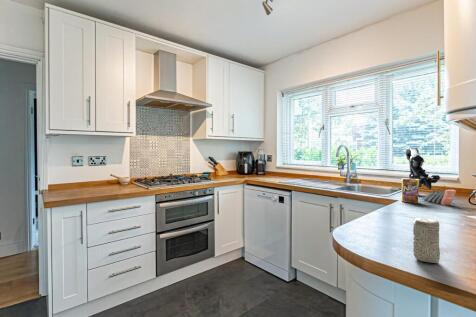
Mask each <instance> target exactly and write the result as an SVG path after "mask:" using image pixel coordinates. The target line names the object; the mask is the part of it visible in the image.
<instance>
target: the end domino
mask: <svg viewBox="0 0 476 317" xmlns="http://www.w3.org/2000/svg"><path fill="white" fill-rule="evenodd" d="M444 190H445V193H444V196H443V198H442V201H441V204H440V205H442V206H451V204H452V203H453V200H454V197H455V195H456V193H457V190H456V189H444Z"/></svg>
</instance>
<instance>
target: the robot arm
mask: <svg viewBox="0 0 476 317" xmlns="http://www.w3.org/2000/svg"><path fill="white" fill-rule="evenodd" d="M405 157H406V159H407V160H408V164H409V174H408V178H407V179H419V188H422V186H424V187H425V188H427V189H429V190H432V184H436V183H437V182H438V181H439V180H440V179H441V177H440V175H437V174H432V175H431V176H430V175H429V174H428V173H427V172H426V171H427V170H426V169H424V168H423V165H424V163H425V160H424V157H422V156H421V155H420V151H419V149H418V147H409V148H408V149H406V150H405ZM418 196H420V194H419V193H418Z"/></svg>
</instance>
